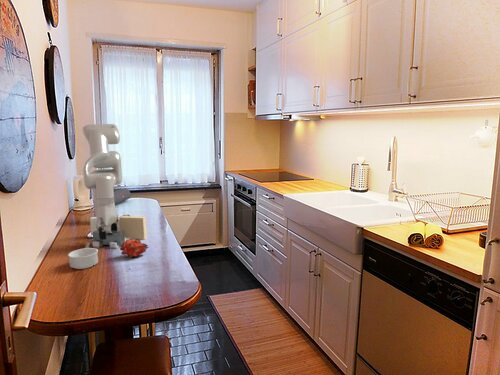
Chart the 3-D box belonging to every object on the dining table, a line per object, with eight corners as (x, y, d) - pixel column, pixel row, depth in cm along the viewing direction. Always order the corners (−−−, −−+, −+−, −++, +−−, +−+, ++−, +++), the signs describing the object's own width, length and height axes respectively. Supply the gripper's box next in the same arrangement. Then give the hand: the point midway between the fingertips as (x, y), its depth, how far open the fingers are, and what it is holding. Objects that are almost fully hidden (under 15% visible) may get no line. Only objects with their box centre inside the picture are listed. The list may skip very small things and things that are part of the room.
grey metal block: (98, 241, 182) (97, 230, 181) (125, 242, 180) (124, 230, 179) (93, 244, 178) (92, 232, 177) (120, 245, 176) (119, 233, 175)
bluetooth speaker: (114, 207, 261) (113, 193, 259) (103, 207, 263) (101, 193, 261) (132, 201, 283) (131, 188, 281) (121, 200, 285) (120, 187, 283)
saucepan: (103, 252, 168) (102, 240, 167) (97, 268, 149) (96, 255, 148) (76, 255, 165) (74, 243, 164) (66, 272, 146) (64, 258, 145)
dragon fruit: (118, 260, 162) (147, 261, 165) (117, 254, 155) (147, 256, 158) (121, 241, 166) (148, 243, 169) (120, 235, 159) (149, 236, 162)
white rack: (94, 235, 195) (92, 215, 193) (147, 237, 189) (145, 216, 187) (72, 246, 178) (69, 223, 176) (129, 249, 172) (127, 226, 170)
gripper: (109, 197, 184) (111, 230, 187) (87, 205, 168) (90, 241, 170) (122, 197, 183) (125, 231, 186) (102, 205, 166) (105, 242, 169)
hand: (108, 236), depth 178 cm, fingers open, 9 cm apart
